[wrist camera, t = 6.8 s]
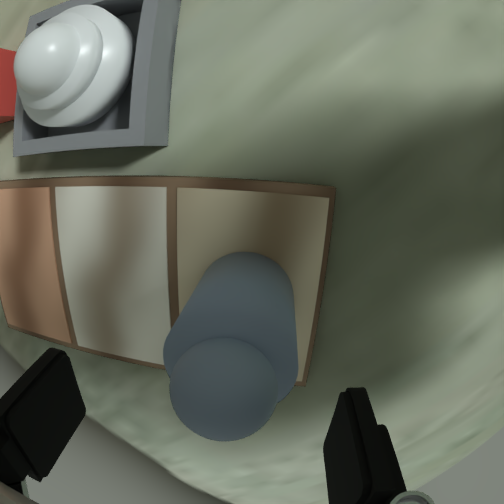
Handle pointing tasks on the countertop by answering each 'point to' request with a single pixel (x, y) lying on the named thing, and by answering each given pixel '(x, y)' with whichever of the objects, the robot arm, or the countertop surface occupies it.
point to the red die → (7, 85)
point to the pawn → (233, 348)
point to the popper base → (135, 95)
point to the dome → (74, 67)
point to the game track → (149, 254)
